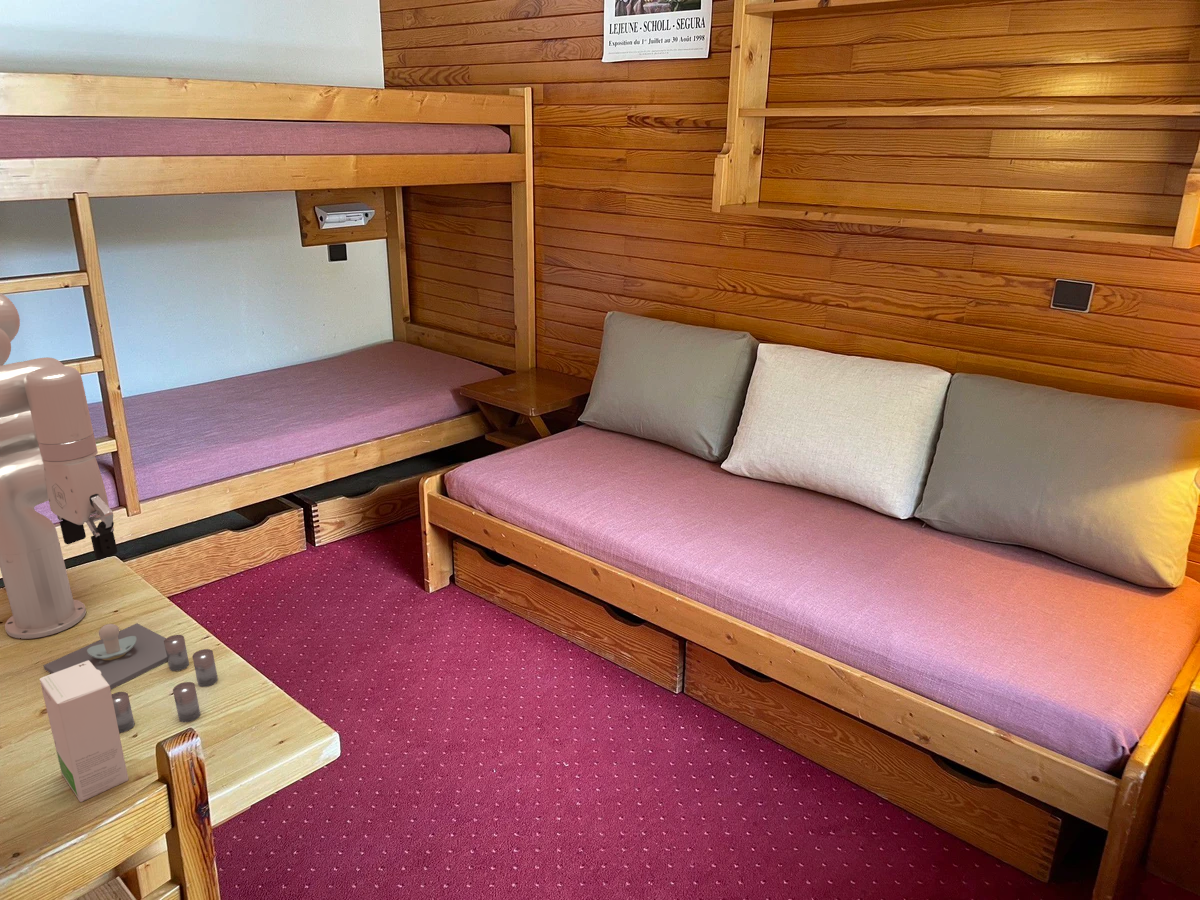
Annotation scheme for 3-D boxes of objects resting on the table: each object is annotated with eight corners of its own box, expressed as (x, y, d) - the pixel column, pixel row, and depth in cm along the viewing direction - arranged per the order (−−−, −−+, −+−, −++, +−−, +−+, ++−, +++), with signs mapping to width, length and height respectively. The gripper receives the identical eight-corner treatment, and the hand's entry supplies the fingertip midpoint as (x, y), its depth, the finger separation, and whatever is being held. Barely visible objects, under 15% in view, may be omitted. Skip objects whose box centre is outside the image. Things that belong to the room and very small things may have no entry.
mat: (44, 669, 150) (43, 665, 150) (137, 627, 162) (136, 623, 162) (91, 699, 142) (90, 694, 141) (186, 652, 154) (185, 648, 154)
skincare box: (61, 774, 125) (35, 677, 120) (112, 752, 129) (89, 657, 124) (80, 804, 119) (54, 704, 114) (133, 780, 124) (110, 682, 118)
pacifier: (88, 653, 153) (91, 668, 148) (80, 620, 151) (83, 634, 146) (135, 640, 157) (140, 654, 152) (128, 607, 155) (133, 621, 150)
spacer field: (80, 710, 139) (73, 682, 137) (182, 659, 152) (177, 632, 150) (141, 750, 130) (134, 720, 128) (244, 691, 143) (239, 664, 141)
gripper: (15, 444, 141) (40, 543, 147) (71, 466, 132) (95, 572, 138) (65, 431, 147) (87, 527, 153) (122, 451, 138) (142, 553, 144)
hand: (90, 548), depth 145 cm, fingers open, 9 cm apart
